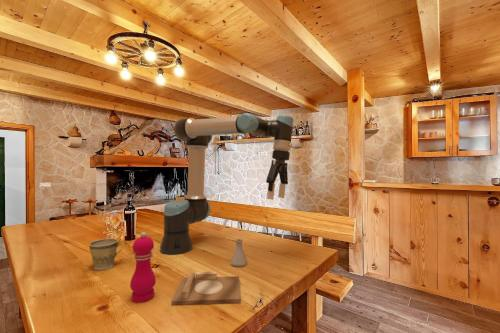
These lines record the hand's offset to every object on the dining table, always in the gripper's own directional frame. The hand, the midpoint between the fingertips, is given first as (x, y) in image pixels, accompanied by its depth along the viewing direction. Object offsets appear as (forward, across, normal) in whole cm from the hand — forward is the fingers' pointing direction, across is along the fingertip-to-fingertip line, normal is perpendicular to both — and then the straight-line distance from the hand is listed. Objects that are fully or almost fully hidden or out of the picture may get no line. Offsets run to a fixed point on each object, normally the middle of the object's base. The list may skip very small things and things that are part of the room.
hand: (275, 198), depth 107 cm
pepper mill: (+32, -47, +22) cm, 61 cm away
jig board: (+30, -34, +6) cm, 46 cm away
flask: (+28, -10, +9) cm, 32 cm away
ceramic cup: (+34, -37, +54) cm, 74 cm away
